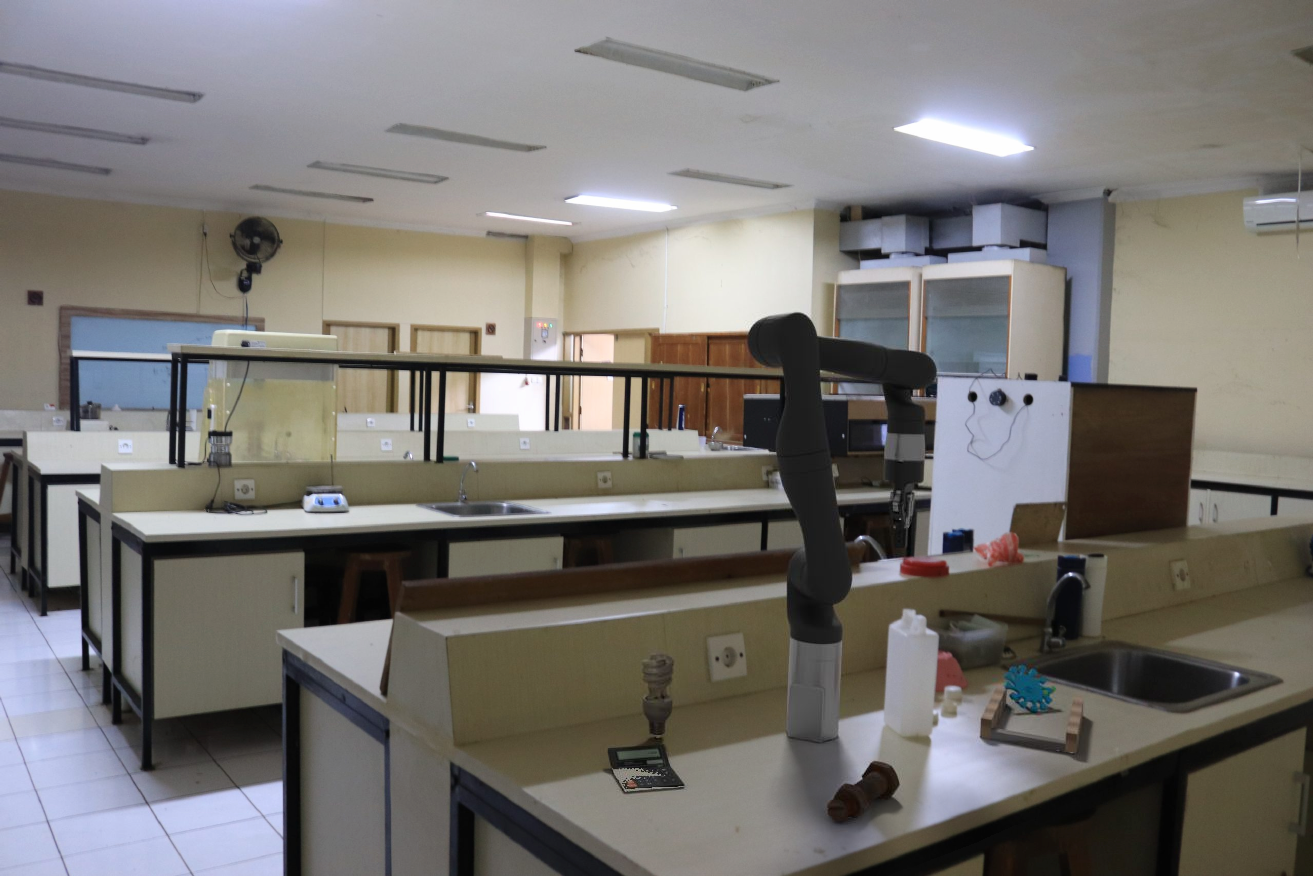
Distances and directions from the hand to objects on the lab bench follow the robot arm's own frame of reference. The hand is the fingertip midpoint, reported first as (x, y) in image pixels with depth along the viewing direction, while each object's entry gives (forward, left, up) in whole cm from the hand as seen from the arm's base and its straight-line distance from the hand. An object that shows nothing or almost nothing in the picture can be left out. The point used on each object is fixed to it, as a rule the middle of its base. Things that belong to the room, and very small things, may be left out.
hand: (900, 547), depth 188 cm
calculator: (-53, +27, -32) cm, 68 cm away
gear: (+18, -23, -32) cm, 44 cm away
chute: (+6, -25, -32) cm, 41 cm away
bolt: (-48, -6, -32) cm, 58 cm away
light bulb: (-37, +33, -32) cm, 59 cm away
